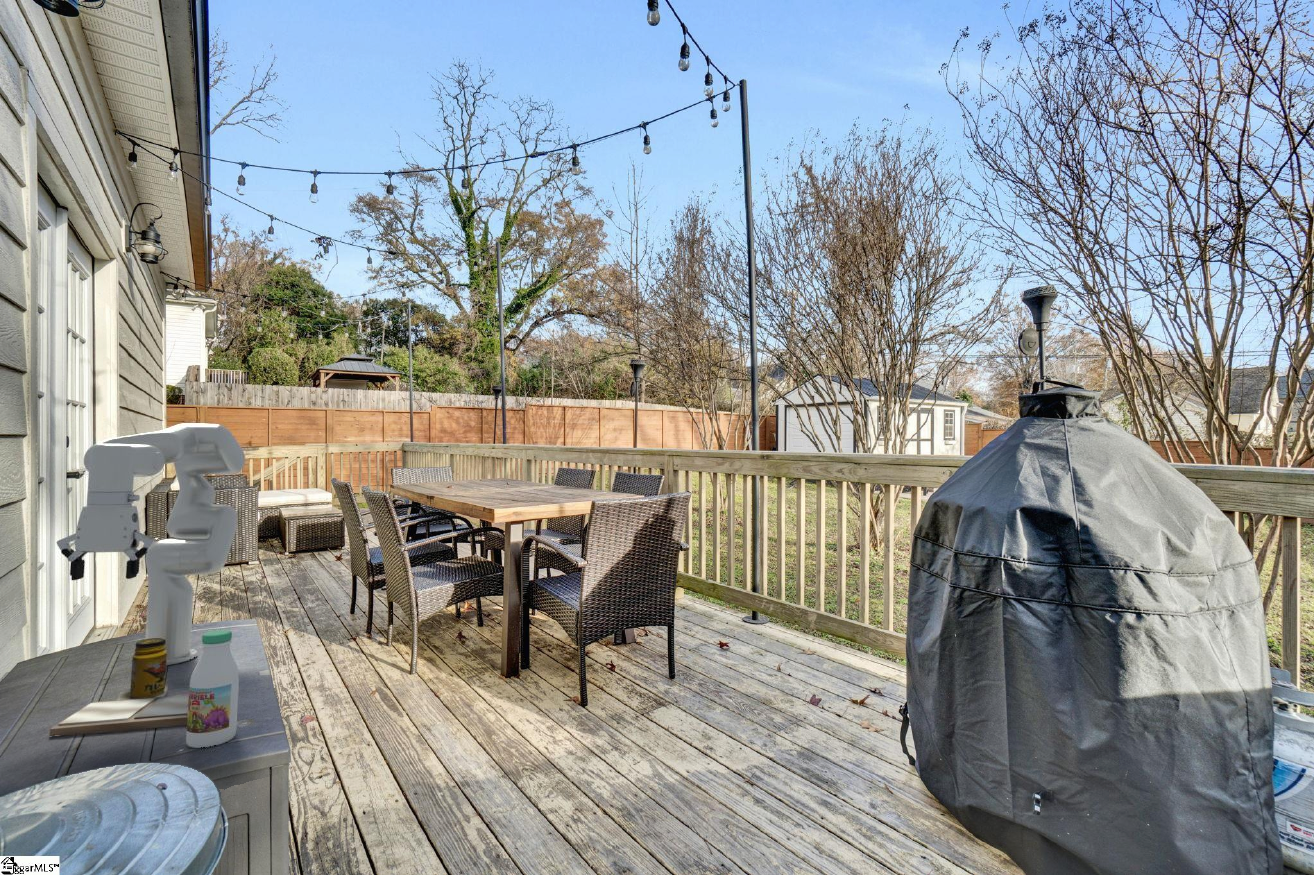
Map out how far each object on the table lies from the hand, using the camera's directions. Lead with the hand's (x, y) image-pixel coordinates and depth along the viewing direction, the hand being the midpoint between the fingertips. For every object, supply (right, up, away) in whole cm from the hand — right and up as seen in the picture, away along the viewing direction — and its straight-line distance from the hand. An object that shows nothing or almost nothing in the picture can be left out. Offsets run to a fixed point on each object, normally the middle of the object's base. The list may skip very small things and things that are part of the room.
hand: (104, 578), depth 135 cm
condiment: (+6, -27, +3) cm, 28 cm away
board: (+16, -26, -9) cm, 32 cm away
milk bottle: (+37, -26, -19) cm, 49 cm away
